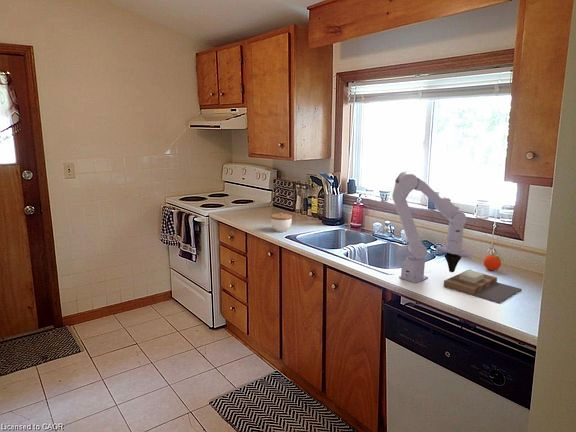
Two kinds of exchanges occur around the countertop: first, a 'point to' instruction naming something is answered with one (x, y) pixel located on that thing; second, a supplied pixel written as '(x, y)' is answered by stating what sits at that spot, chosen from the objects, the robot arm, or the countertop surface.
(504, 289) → the mat
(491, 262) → the clementine
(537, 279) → the countertop surface
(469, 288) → the board
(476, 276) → the tile
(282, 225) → the lidded bowl
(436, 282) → the countertop surface
